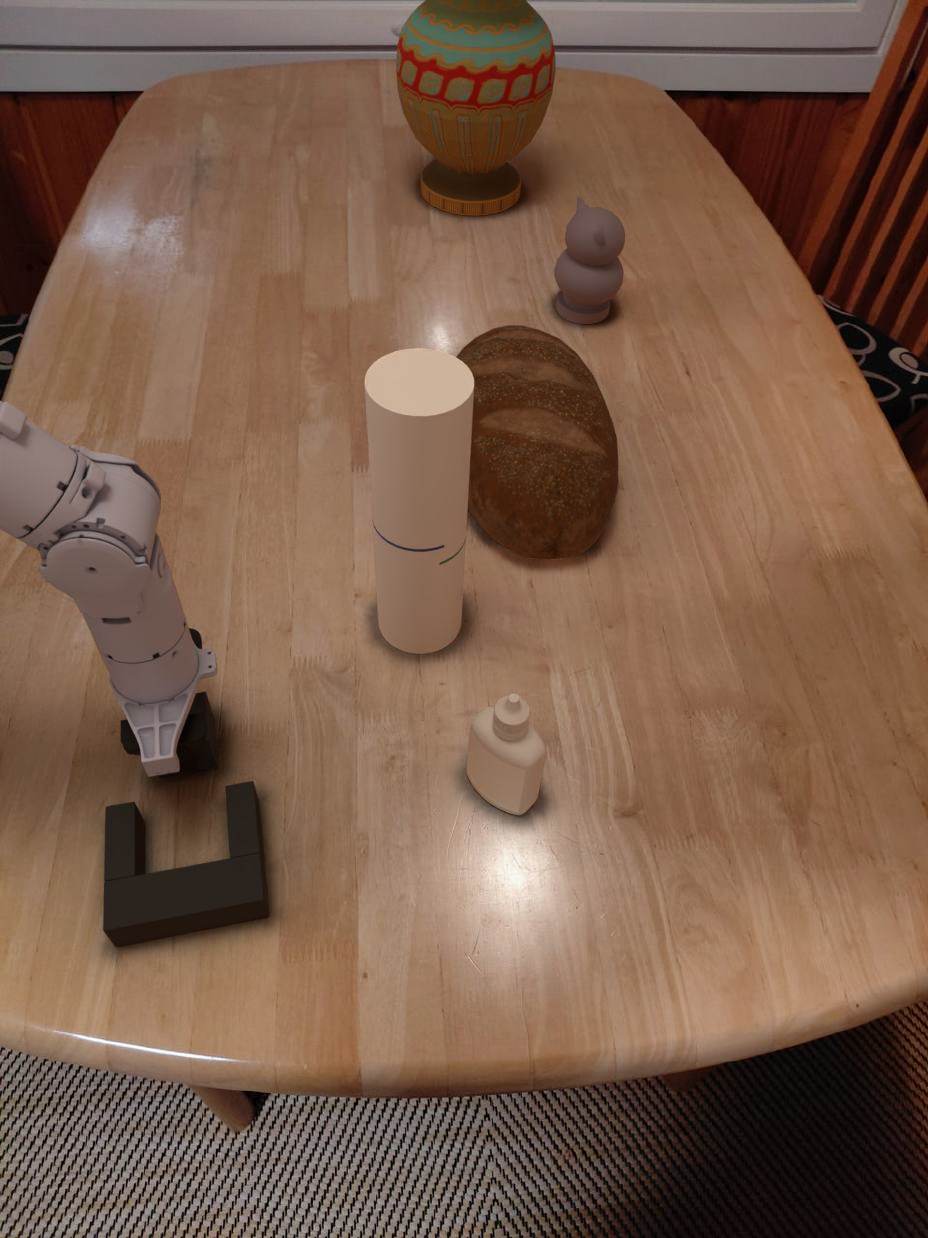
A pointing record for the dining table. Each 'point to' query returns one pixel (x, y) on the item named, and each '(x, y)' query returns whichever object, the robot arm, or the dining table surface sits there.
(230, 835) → the black u-shaped block
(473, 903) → the dining table surface
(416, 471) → the cylindrical container
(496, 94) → the vase
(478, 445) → the bread
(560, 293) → the grey rounded figurine
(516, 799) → the eye dropper bottle
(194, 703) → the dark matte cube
